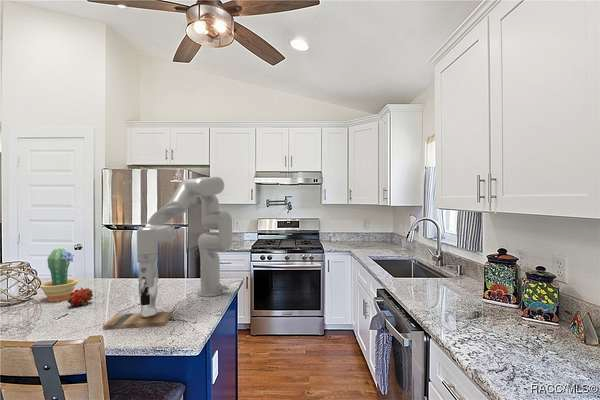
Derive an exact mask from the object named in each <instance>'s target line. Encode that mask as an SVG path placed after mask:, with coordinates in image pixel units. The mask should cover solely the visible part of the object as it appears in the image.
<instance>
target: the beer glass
mask: <svg viewBox="0 0 600 400" xmlns="http://www.w3.org/2000/svg"><path fill="white" fill-rule="evenodd" d="M145 287H148V285H145ZM146 291H147V289H146ZM149 294H150V304H149V305H141V304H140V313H141V314H140V316H141V317H150V316H153V315H156V314H157V312H158V311H157V305H156V302H157V295H158V282H157V276H156V277H155V278H154V286H153V287H149ZM138 296H139V301H140V302H141V291H140V287H139V286H138Z"/></svg>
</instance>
